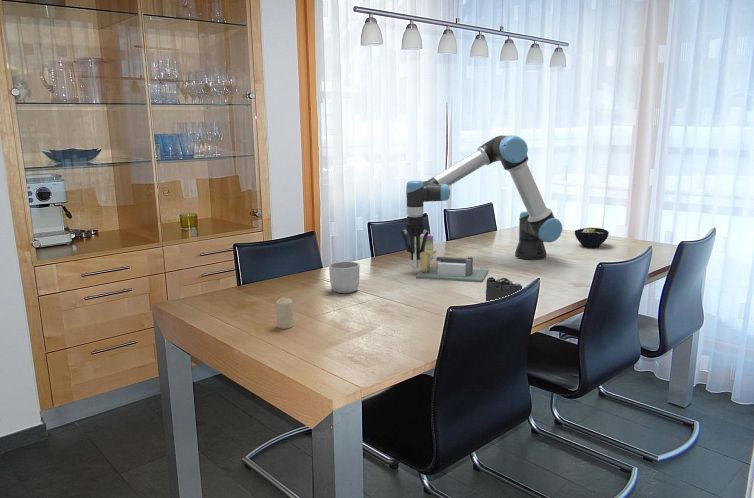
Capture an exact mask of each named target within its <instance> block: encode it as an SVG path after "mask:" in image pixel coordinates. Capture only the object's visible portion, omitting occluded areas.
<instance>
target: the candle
mask: <svg viewBox="0 0 754 498" xmlns="http://www.w3.org/2000/svg"><path fill="white" fill-rule="evenodd" d="M275 308H276V310H275V311H276V312H275V313H276V327H277V328H278V329H291V328H292V327H294V325H295V324H294V309H293V300H292V299H291V298H290V297H287V296H282V297H280V298H279V299H277V300H276V302H275Z"/></svg>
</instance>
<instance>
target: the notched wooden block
mask: <svg viewBox="0 0 754 498" xmlns="http://www.w3.org/2000/svg"><path fill="white" fill-rule="evenodd" d="M436 253H437V250H434V249H433V250H424V251H423V252H422V258H421V271H422V272H428V271H429V270H430V267H431V259H430V254H433V255H436Z"/></svg>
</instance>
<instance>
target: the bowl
mask: <svg viewBox="0 0 754 498" xmlns="http://www.w3.org/2000/svg"><path fill="white" fill-rule="evenodd" d="M609 234H610V233H609V231H608V230H607V229H604V228H599V227H584V228H579V229H578V228H577V229H575V230H574V236H575V238H576V240H577V241H578V242H579V243H580V244H581V246H582V247H583V248H587V249H598V248H600V247H601V245H602V244H603V243H604V242H605V241H606V240H607V239H608V237H609Z"/></svg>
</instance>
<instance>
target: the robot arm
mask: <svg viewBox="0 0 754 498" xmlns="http://www.w3.org/2000/svg"><path fill="white" fill-rule="evenodd" d="M528 151H529V147H528V144H527V142H526V141H525V140H524V139H523V138H522V137H520V136H517V135H514V134H513V135H497V136H495V137H492V138H491V139H490V140H488V141H487V142H485V143H484V144H482V145H480V146H478V147H477V149H476V151H474V152H473V153H471V154H469V155H467V156H466V157H465V158H463V159H461V160H459V161H458V162H456V163H454V164H453V165H451V166H449V167H448V168H446V169H445V170H443V171H441V172H440V173H438V174H436V175H434V176H433V177H432V178H430V179H428V180H424V181H423V180H409V181H406V186H405V187H406V188H405V189H406V190H405V193H406V227H405V229H403V230H401V231H400V234H401V235H402V236H403V241H404V245H405V248H406V252H408V253H410V261H412V262H413V263H412V264H413V265H412V268H413V269H417V268H418V267H419V261H420V260H421V258H420V253H421V252H423V251H424V249H425V244H426V240H427V236H428V234H431V233H430V231H429V230H427V229H425V228H426V227H425V225H424V223H425V221H424V216H423V215H424V205H425V204H424V203H428V202H444V201H449V200H450V197H451V189H450V187H451V186H452V185H454V184H456V183H457V182H459V181H460V180H462V179H464V178H465V177H467V176H468V175H470V174H472V173H473V172H475V171H477V170H479V169H481V168H482V167H484V166H490V165H491V164H492V163H493V164H494V163H495V162H496V163H497V162H500V163H501V165H502V167H503V170H505V171H507V172H509V174H510V176H511V178H512V181H513V183H514V185H515V188H516V189H517V192H518V194H519V196H520V198H521V200H522V203H523V205H524V207H525V209H526V211H521V212H520V214H519V218H518V219H519V223H518V225H519V226H518V227H519V228H518V243H517V246H516V248H515V251H514V257H515V258H517V259H520V260H529V261H533V260H534V261H537V260H544V259H546V258H547V251H546V248H545V244H544V243H553V242H555V241H557V240H558V239H559V238H560V237H561V235H562V232H563V225H562V222H561V221H560V220H559V219H558V218H556V217H555V215H554V213H553V211H552V209H550V208H548V207H547V206H546V204H545V201H544V199H543V197H542V195H541V192H540V190H539V188H538V186H537V183H536V181H535V178H534V176H533V174H532V172H531V169H530V168H529V164H528V161H529V157H528ZM408 234H409V236H410V237H408ZM421 234H424V237H423V241H422V245H421V250H420V235H421ZM415 236H416V253H414V252H415ZM409 238H410V240H409ZM409 241H410V242H409Z"/></svg>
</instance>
